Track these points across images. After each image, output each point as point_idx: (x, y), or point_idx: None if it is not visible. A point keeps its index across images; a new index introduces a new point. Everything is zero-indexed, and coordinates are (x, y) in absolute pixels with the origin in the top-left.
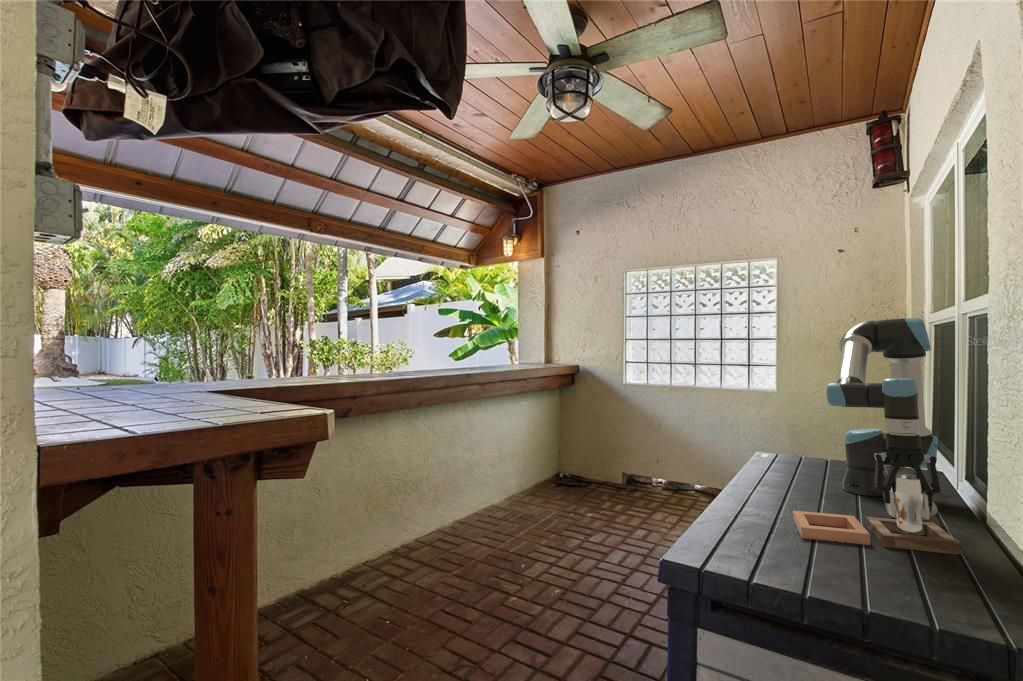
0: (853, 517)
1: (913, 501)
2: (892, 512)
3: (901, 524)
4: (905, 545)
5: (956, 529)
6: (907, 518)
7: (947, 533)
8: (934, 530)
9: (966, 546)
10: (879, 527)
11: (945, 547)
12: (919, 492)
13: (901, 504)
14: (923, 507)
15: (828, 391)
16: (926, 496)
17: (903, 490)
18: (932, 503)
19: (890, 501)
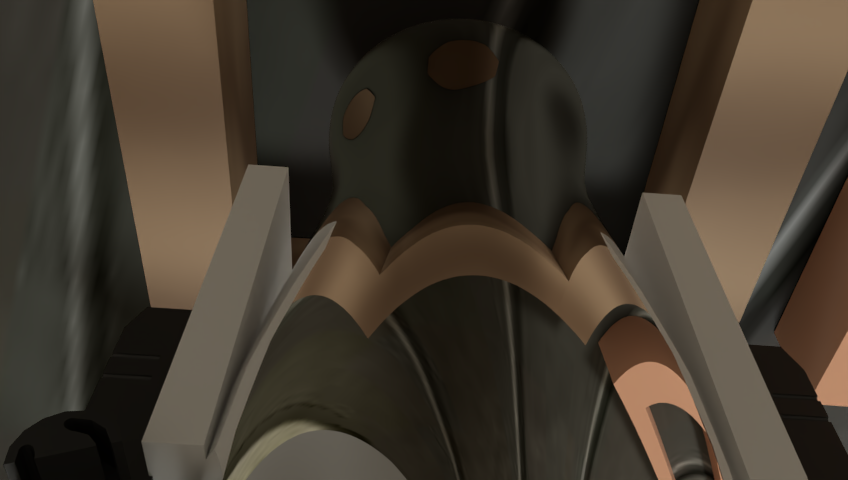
0: (845, 363)
1: (465, 261)
2: (686, 229)
3: (570, 127)
4: None
5: (15, 400)
6: (528, 133)
7: (114, 69)
8: (221, 142)
9: (4, 19)
10: (788, 111)
11: None
12: (307, 438)
13: (624, 270)
14: (263, 314)
15: None
16: (170, 423)
17: (665, 476)
18: (118, 345)
19: (740, 360)
